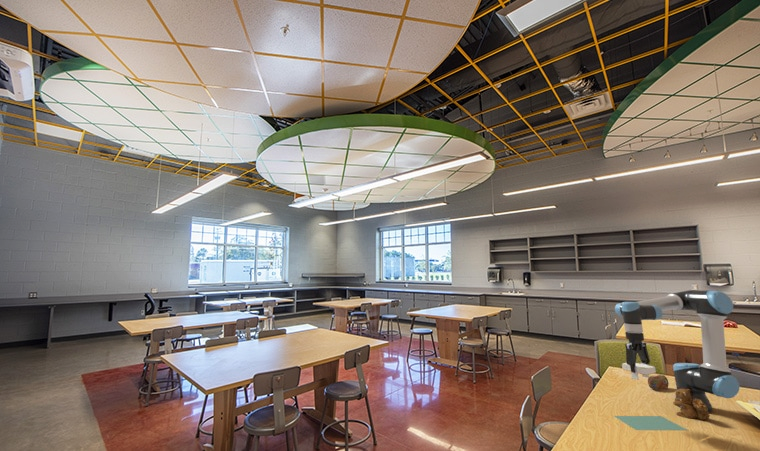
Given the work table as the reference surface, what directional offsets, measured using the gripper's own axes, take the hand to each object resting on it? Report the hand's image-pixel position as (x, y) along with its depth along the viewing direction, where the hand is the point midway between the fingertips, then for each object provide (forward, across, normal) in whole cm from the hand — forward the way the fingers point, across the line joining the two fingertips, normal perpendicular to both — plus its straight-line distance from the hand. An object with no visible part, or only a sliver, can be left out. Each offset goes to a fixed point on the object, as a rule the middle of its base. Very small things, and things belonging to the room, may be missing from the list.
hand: (640, 377), depth 163 cm
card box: (-5, 0, -6) cm, 8 cm away
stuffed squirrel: (+21, -29, +6) cm, 37 cm away
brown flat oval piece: (+21, -62, -26) cm, 71 cm away
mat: (+21, 0, +1) cm, 21 cm away
